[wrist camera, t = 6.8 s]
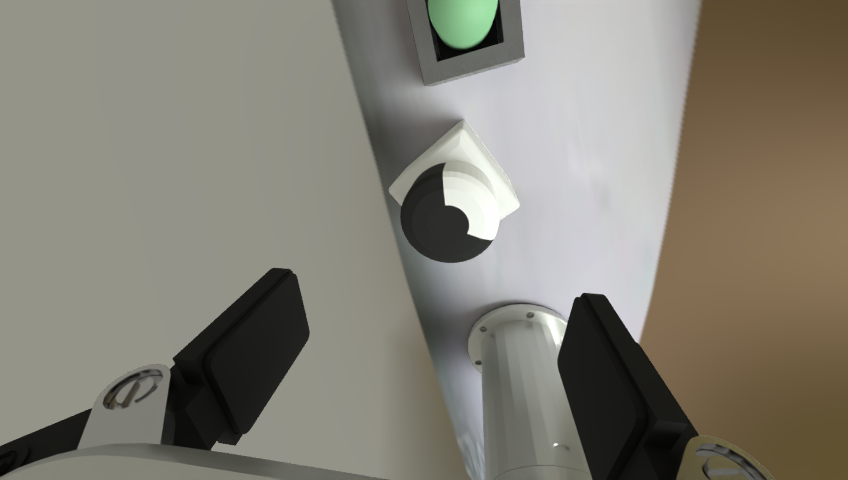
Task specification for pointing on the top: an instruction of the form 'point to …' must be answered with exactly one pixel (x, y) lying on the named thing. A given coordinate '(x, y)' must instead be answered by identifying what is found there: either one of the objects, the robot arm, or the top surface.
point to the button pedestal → (470, 62)
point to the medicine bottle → (453, 197)
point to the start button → (462, 21)
